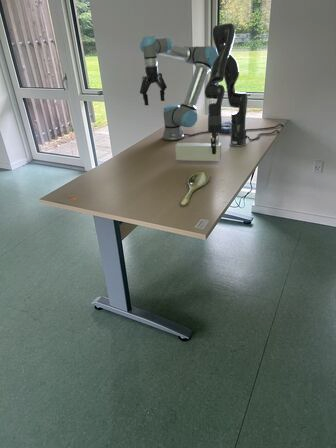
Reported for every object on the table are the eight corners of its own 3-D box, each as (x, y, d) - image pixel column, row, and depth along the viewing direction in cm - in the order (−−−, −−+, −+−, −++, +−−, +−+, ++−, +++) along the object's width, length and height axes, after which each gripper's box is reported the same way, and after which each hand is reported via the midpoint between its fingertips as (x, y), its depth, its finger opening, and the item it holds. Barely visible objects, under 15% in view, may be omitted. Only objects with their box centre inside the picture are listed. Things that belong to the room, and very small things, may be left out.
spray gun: (242, 125, 260) (223, 125, 266) (242, 120, 258) (223, 120, 264) (234, 134, 245) (215, 133, 251) (234, 128, 242) (214, 128, 249)
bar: (176, 159, 201) (175, 145, 197) (178, 156, 206) (177, 142, 201) (219, 161, 195) (219, 146, 190) (221, 157, 199) (221, 143, 194)
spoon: (193, 209, 156) (193, 205, 155) (172, 207, 159) (171, 203, 158) (212, 175, 182) (212, 172, 181) (193, 174, 186) (193, 170, 184)
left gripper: (139, 69, 190) (143, 107, 201) (170, 63, 204) (173, 99, 215) (131, 68, 195) (135, 106, 206) (162, 63, 209) (165, 98, 220)
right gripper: (219, 126, 180) (219, 156, 189) (223, 119, 192) (222, 148, 200) (205, 126, 182) (206, 156, 191) (210, 119, 194) (210, 148, 202)
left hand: (154, 103), depth 210 cm, fingers open, 13 cm apart
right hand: (214, 152), depth 195 cm, fingers closed on bar, 5 cm apart
